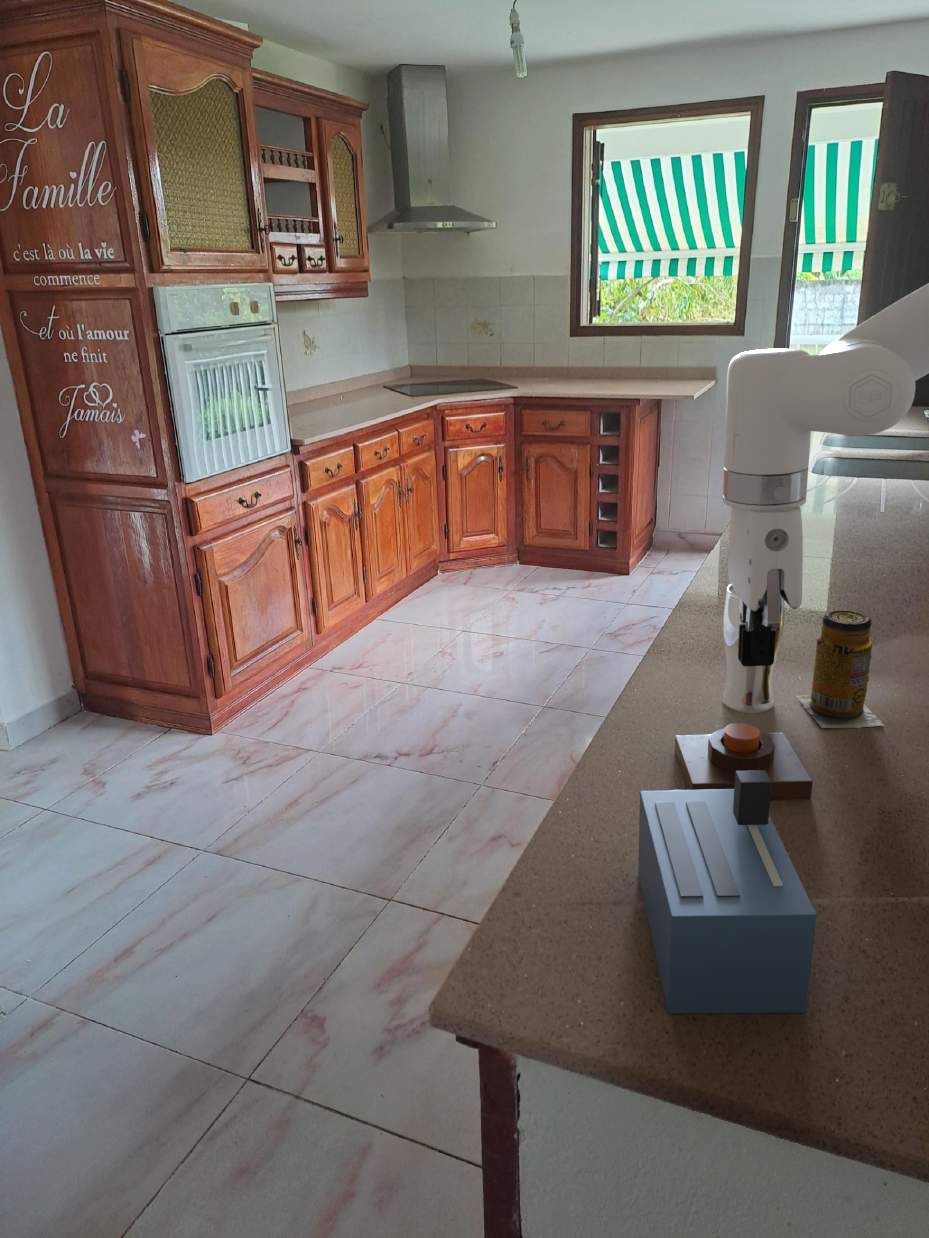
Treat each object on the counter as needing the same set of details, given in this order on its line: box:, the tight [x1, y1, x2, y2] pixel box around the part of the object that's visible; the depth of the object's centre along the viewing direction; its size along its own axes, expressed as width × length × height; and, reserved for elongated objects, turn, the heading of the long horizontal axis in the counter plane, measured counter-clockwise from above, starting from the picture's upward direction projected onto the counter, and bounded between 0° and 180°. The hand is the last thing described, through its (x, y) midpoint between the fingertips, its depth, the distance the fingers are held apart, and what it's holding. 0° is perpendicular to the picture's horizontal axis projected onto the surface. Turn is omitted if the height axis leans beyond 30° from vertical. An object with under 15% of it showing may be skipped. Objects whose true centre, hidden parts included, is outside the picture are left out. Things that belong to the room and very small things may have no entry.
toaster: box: [637, 789, 818, 1015], centre depth 71 cm, size 10×16×9 cm, turn 177°
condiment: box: [795, 609, 885, 729], centre depth 104 cm, size 7×8×12 cm
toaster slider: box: [733, 770, 772, 825], centre depth 71 cm, size 2×2×4 cm
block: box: [674, 727, 813, 801], centre depth 94 cm, size 12×10×4 cm
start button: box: [723, 722, 761, 753], centre depth 93 cm, size 4×4×2 cm
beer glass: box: [721, 583, 786, 715], centre depth 107 cm, size 7×7×15 cm
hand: (755, 662), depth 90 cm, fingers closed
